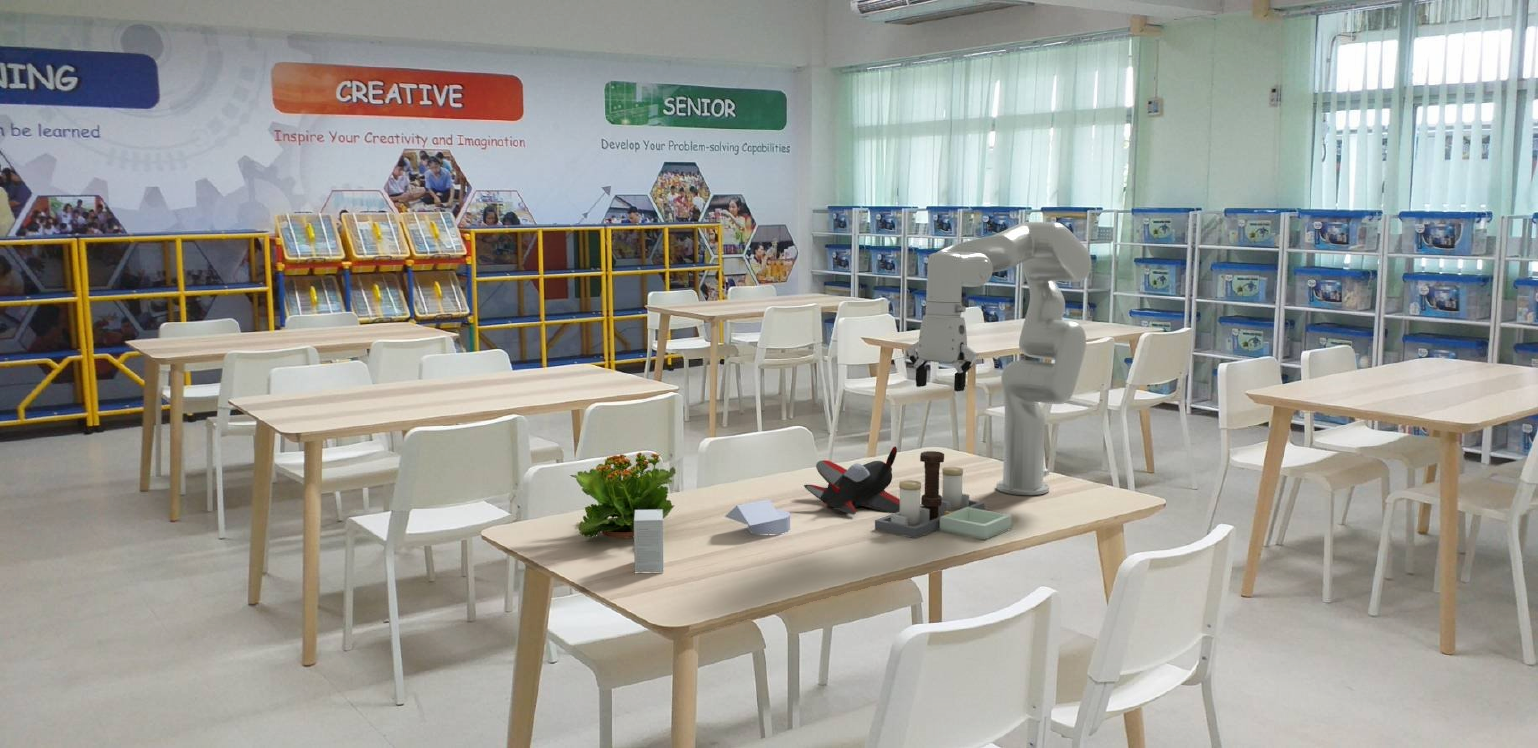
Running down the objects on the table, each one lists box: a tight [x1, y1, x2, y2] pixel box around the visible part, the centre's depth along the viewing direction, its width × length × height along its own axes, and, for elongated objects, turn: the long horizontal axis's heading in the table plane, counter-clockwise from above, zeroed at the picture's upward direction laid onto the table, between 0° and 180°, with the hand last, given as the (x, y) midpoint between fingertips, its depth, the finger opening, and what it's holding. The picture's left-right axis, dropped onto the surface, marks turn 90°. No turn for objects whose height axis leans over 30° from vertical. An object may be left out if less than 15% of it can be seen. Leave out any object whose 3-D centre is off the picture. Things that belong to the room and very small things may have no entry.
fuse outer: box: [898, 479, 922, 527], centre depth 252 cm, size 5×5×10 cm
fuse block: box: [874, 493, 986, 539], centre depth 259 cm, size 11×28×4 cm, turn 139°
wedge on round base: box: [724, 498, 791, 536], centre depth 251 cm, size 9×7×13 cm
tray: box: [939, 507, 1012, 541], centre depth 251 cm, size 11×11×3 cm
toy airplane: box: [803, 446, 900, 516], centre depth 273 cm, size 28×24×15 cm
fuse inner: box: [941, 466, 964, 512], centre depth 265 cm, size 5×5×10 cm
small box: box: [633, 510, 664, 573], centre depth 226 cm, size 8×6×10 cm
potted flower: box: [569, 451, 677, 539], centre depth 250 cm, size 25×24×18 cm
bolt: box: [919, 450, 945, 521], centre depth 258 cm, size 6×5×15 cm
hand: (939, 388), depth 256 cm, fingers open, 9 cm apart
